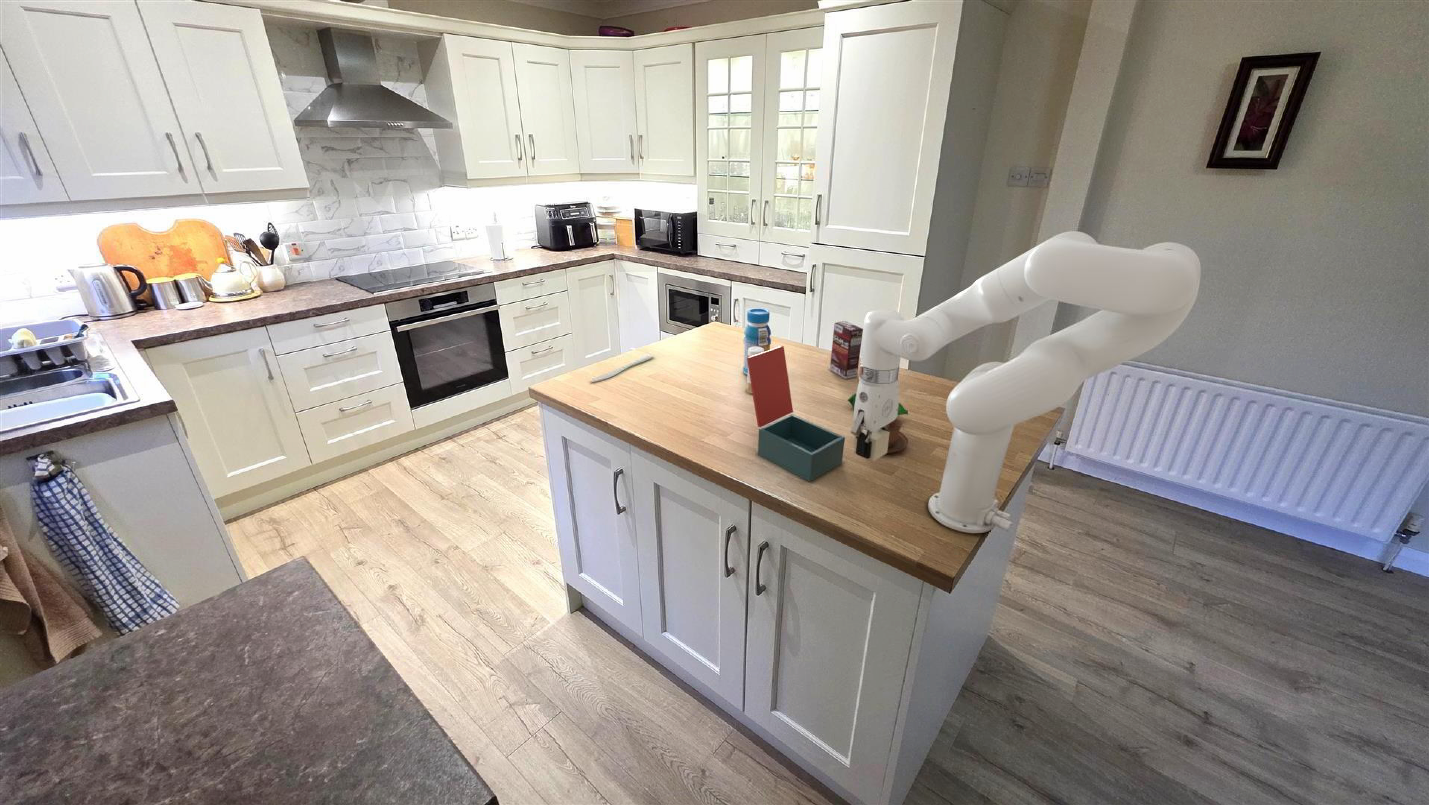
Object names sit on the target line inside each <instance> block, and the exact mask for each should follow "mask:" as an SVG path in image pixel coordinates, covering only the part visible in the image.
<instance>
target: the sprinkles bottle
mask: <svg viewBox="0 0 1429 805" xmlns="http://www.w3.org/2000/svg"><path fill="white" fill-rule="evenodd" d="M762 352H764V349H763V348H762V347H757V346H754V347H750V348H749V349H748V357H750V356H753V355H756V354H759V353H762ZM746 392H747V393H748V394H750V395H753V394H752V387H751V381H750V375H749V369H748V375H747V389H746Z"/></svg>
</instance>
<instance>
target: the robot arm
mask: <svg viewBox="0 0 1429 805" xmlns="http://www.w3.org/2000/svg"><path fill="white" fill-rule="evenodd" d="M1201 276H1202V266H1201V261H1200V258H1199V257H1198V254H1196V252H1195V251H1194V250H1193V249H1192V248H1190V247H1189V246H1187V245H1185V244H1182V243H1179V242H1172V241H1166V242H1165V241H1164V242H1159V243H1155V244H1152V245H1149V246H1146V247H1144V248H1142V249H1137V248H1128V247H1119V246H1112V245H1105V244H1099V243H1098V241H1096V239H1095V238H1093V237H1092V236H1091V235H1089V234H1087V233H1085V232H1083V231H1077V230H1069V231H1064V232H1061V233H1059V234H1056V235H1054V236H1052V237H1050V238H1048V239H1047V240H1044V241H1043V242H1041V243H1040V244H1037V245H1036V246H1035V247H1033V248H1031V249H1029V250H1028V251H1025V252H1024V253H1022V254H1020V255H1019V256H1017V257H1015V258H1014V259H1012V260H1010V261H1008V262H1006V263H1004V264H1003V265H1001V266H999V267H997V268H995V269H994V270H992V271H990V272H988V273H986V274H984V275H982V276H981V277H979V278H978V279H976V281H974V282H973V283H972V284H971V285H970V286H969V287H967V288H965V289H964V290H963V291H961V292H959V293H957V294H956V295H954V296H951V297H950V298H949V299H947V300H945V301H943V302H941V303H939V304H938V305H936V306H933V307H932V308H930V309H928V310H927V311H924V312H923V313H921V314H919V315H918V316H916V317H914V318H911V319H907V320H905V318H904V316H903V314H901V313H900V312H898V311H894V310H890V309H877V310H872V311H869V312H867V314H866V315H865V317H864V320H863V327H862V329H863V334H862V342H861V350H860V362H859V376H858V379H859V382H858V384H857V390H856V393H857V394H856V400H855V406H854V408H853V418H852V420H853V421H852V422H853V425H852V427H851V429H850V433H851V434H852V435H853V436H854V437H855V436H856V439H857V446H856V453H855V454H856V455H857V456H860V457H861V458H864V459H866V460H870V459H869V458H870V454H871V445H872V442H870V439H871V435H872V432H874V431H877V430H879V429H882V430H885V431H888V430H889V424H890V423H891V422H892V421H894V420H895V419H898V416H897V414H898V404H899V403H900V381H899V380H900V379H899V374H900V373H899V372H900V364H901V359H904V360H907V361H910V362H923V361H925V360H927V359H929V358H930V357H932V356H933V355H935V354H936V353H937V352H939V351H940V350H941V349H943V348H944V347H945V346H947V345H948V344H950V343H952V342H954V341H956V340H957V339H960V338H962V337H964V336H966V335H967V334H970V333H972V332H974V331H976V330H978V329H981V328H982V327H985V326H987V325H992V324H1002V323H1005V322H1009V321H1011V320H1012V319H1015V318H1016V317H1018V316H1020V315H1022V314H1025V313H1027V312H1029V311H1030V310H1033V309H1035V308H1036V307H1039V306H1041V305H1043V304H1045V303H1047V302H1050V301H1052V300H1053V301H1057V302H1061V303H1066V304H1070V305H1074V306H1078V307H1085V308H1091V309H1094V310H1095V309H1096V310H1099V311H1097V312H1095V313H1094V314H1091V315H1089V316H1087V317H1085V318H1083V319H1082V320H1080V321H1078V322H1076V323H1074V324H1071V325H1069V326H1067V327H1065V328H1063V329H1061V330H1059V331H1056V332H1055V333H1051V334H1050V335H1047V336H1045V337H1042V338H1040V339H1037V340H1035V341H1034V342H1032V343H1030V344H1029V345H1028V346H1027V347H1025V349H1024V350H1023V351H1022V352H1021V353H1020V354H1019V355H1017V356H1016V357H1014V358H1012V359H1010V360H1008V361H1007V362H1003V361H989V362H985V363H983V364H980V365H978V366H977V367H975V368H974V369H972V370H971V371H970V372H969V373H968V374H967V375H965V376H964V377H963V378H962V380H961V381H960V382H959V383H957V384H956V385H955V387H953V389H952V390H951V391H950V393H949V395H948V397H947V399H946V404H945V411H946V415H947V418H948V420H949V422H950V424H951V425H952V426H953V429H952V435H951V439H950V443H949V448H948V451H947V452H948V453H947V457H946V461H945V466H944V469H943V476H942V479H941V483H940V488H939V492H936V493H934V494H933V495H932V496H930V498H929V499H928V504H927V507H928V511H929V513H930V515H931V516H932V517H933V518H934V519H935V520H936V521H937V522H939V523H940V524H941V525H943V526H944V527H947V528H949V529H951V530H954V531H957V532H961V533H965V534H966V533H967V534H982V533H983V534H984V533H987V532H990V531H991V530H993V529H995V527H998V528H1000V529H1001V530H1004V531H1006V532H1010V531H1011V529H1012V526H1013V521H1011V520H1010V519H1011V517H1012V516H1011V514H1009V513H1007V512H1005V511H1002V510H1000V508H998V503H999V500H998V499H996V498H995V496H996V492H997V488H998V485H999V480H1000V478H1001V473H1002V470H1003V467H1004V464H1005V463H1004V462H1005V459H1006V456H1007V452H1008V449H1009V445H1010V441H1011V438H1012V435H1013V431H1014V428H1015V426H1016V425H1019V424H1021V423H1024V422H1026V421H1029V420H1032V419H1035V418H1037V417H1039V416H1042V415H1045V414H1047V413H1049V412H1052V411H1054V410H1056V409H1058V408H1059V407H1061V406H1063V405H1064V404H1066V403H1067V402H1068V401H1069V400H1071V398H1072V397H1073V396H1074V395H1075V394H1076V392H1077V391H1078V389H1079V387H1080V386H1082V383H1084V382H1085V381H1087V380H1088V379H1091V378H1093V377H1095V376H1097V375H1099V374H1102V373H1105V372H1106V371H1109V370H1111V369H1114V368H1115V367H1117V366H1120V365H1121V364H1124V363H1126V362H1128V361H1130V360H1133V359H1136V358H1137V357H1139V356H1141V355H1143V354H1145V353H1147V352H1149V351H1150V350H1152V349H1154V348H1156V347H1157V346H1159V345H1160V344H1161V343H1162V342H1164V341H1165V340H1166V339H1167V338H1169V337H1170V336H1171V335H1172V334H1173V333H1174V332H1176V330H1177V329H1178V328H1179V327H1180V326H1181V325H1182V323H1183V322H1184V321H1185V319H1186V318H1187V317H1188V315H1189V314H1190V312H1191V311H1192V309H1193V307H1194V304H1195V302H1196V300H1197V297H1198V294H1199V289H1200V286H1201ZM863 429H864V430H867V434H866V435H865V434H864V433H863V432H862V431H863Z"/></svg>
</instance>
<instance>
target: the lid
mask: <svg viewBox="0 0 1429 805" xmlns="http://www.w3.org/2000/svg"><path fill="white" fill-rule="evenodd" d="M747 362H748V369H749V375H750V381H751V387H752V394H751V395H752V399H753V405H754V410H755V418H756V425H757V427H758V428H762V427H764V426H767V425H769V424H771V423H773V422H775V421H777V420H780V419H782V418H784V417H786V416H788V415H791V414H793V413H794V409H793V401H792V396H791V388H790V387H791V386H790V380H789V373H788V367H787V359H786V354H785V346H784V345H780V346H777V347H774V348H770V350H768V351H765V352H762V353H759V354H756V355H753V356H750V357H748V358H747Z"/></svg>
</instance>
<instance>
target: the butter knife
mask: <svg viewBox="0 0 1429 805" xmlns="http://www.w3.org/2000/svg"><path fill="white" fill-rule="evenodd" d="M652 358H654V356H653V355H647V356H644V357H641V358H639V359H637V360H635V361H634V362H631V363H629V364H626V365H625V366H623V367H621V368H618V369H615V370H613V371H611V372H608V373H605V374H604V375H600V376H599V377H596V378H594V379H591V380H590V382H592V383H595V382H598V381H603V380H606V379H609V378H612V377H614V376H616V375H617V374H620V373H621V372H623V371H624V370H626V369H628V368H630V367H633V366H635V365H638V364H640V363H643V362H646V361H649V360H651V359H652Z"/></svg>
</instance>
